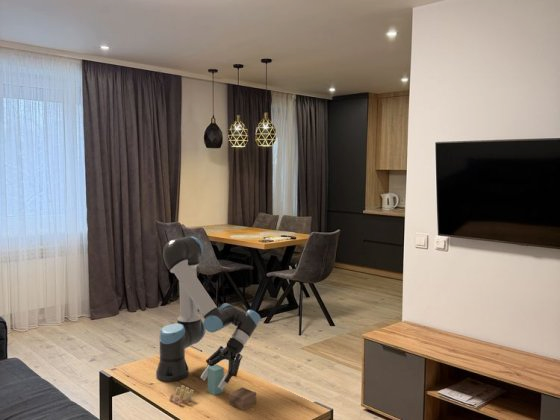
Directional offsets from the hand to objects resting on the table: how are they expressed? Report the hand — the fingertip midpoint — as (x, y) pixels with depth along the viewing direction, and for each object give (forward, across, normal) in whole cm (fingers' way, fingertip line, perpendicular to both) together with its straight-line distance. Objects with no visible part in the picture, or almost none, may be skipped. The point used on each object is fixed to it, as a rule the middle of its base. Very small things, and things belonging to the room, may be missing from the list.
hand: (211, 383), depth 215 cm
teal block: (+1, 0, -5) cm, 5 cm away
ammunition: (+12, +4, +6) cm, 14 cm away
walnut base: (+1, -17, -6) cm, 18 cm away
